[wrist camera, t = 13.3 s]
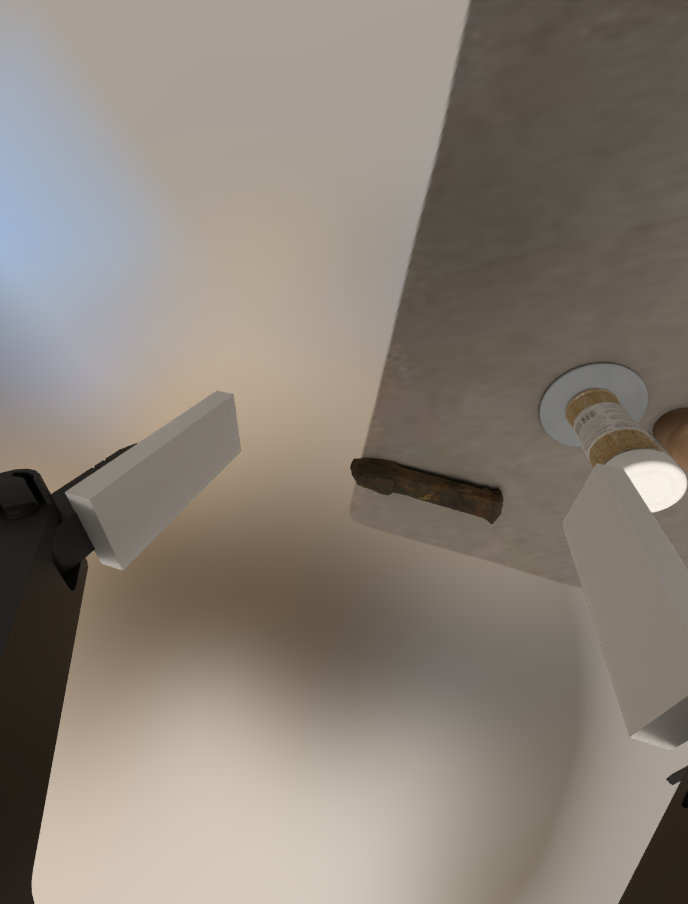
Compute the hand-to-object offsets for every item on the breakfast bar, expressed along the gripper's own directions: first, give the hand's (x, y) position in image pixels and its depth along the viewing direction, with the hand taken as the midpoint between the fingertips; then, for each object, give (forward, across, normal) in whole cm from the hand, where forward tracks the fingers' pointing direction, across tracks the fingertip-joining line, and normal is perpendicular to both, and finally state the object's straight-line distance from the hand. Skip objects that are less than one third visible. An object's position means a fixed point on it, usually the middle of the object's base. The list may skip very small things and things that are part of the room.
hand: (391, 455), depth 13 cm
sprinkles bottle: (+26, +16, -7) cm, 32 cm away
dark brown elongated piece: (+27, +2, -21) cm, 34 cm away
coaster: (+27, +17, -7) cm, 32 cm away
